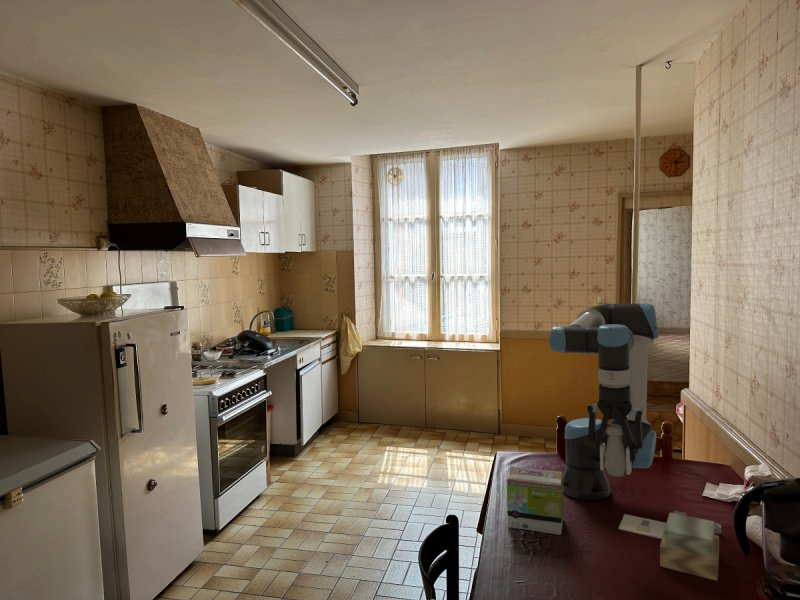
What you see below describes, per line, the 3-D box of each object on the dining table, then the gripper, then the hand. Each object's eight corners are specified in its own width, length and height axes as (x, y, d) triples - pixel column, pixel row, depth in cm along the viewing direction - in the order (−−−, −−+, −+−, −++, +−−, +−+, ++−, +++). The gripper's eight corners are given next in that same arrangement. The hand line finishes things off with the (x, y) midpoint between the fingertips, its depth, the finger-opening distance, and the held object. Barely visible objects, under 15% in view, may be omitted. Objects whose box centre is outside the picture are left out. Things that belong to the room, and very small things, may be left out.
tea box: (507, 529, 148) (505, 478, 147) (512, 512, 157) (510, 465, 156) (562, 536, 143) (561, 484, 142) (564, 518, 152) (562, 469, 151)
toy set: (671, 525, 146) (670, 513, 146) (675, 521, 149) (674, 508, 149) (720, 539, 138) (719, 525, 138) (723, 533, 140) (722, 520, 140)
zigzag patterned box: (660, 566, 127) (659, 530, 126) (665, 542, 137) (665, 510, 136) (717, 580, 120) (717, 543, 120) (719, 555, 130) (718, 520, 130)
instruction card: (618, 529, 145) (618, 527, 145) (624, 515, 152) (624, 513, 152) (666, 540, 138) (666, 538, 138) (670, 525, 146) (670, 523, 146)
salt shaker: (628, 470, 138) (627, 423, 137) (627, 479, 133) (626, 430, 132) (604, 468, 141) (603, 421, 140) (603, 476, 136) (602, 428, 135)
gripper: (573, 384, 137) (575, 469, 139) (651, 391, 127) (653, 482, 129) (580, 378, 143) (582, 459, 145) (655, 384, 133) (657, 471, 135)
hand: (615, 470), depth 137 cm, fingers closed on salt shaker, 6 cm apart
